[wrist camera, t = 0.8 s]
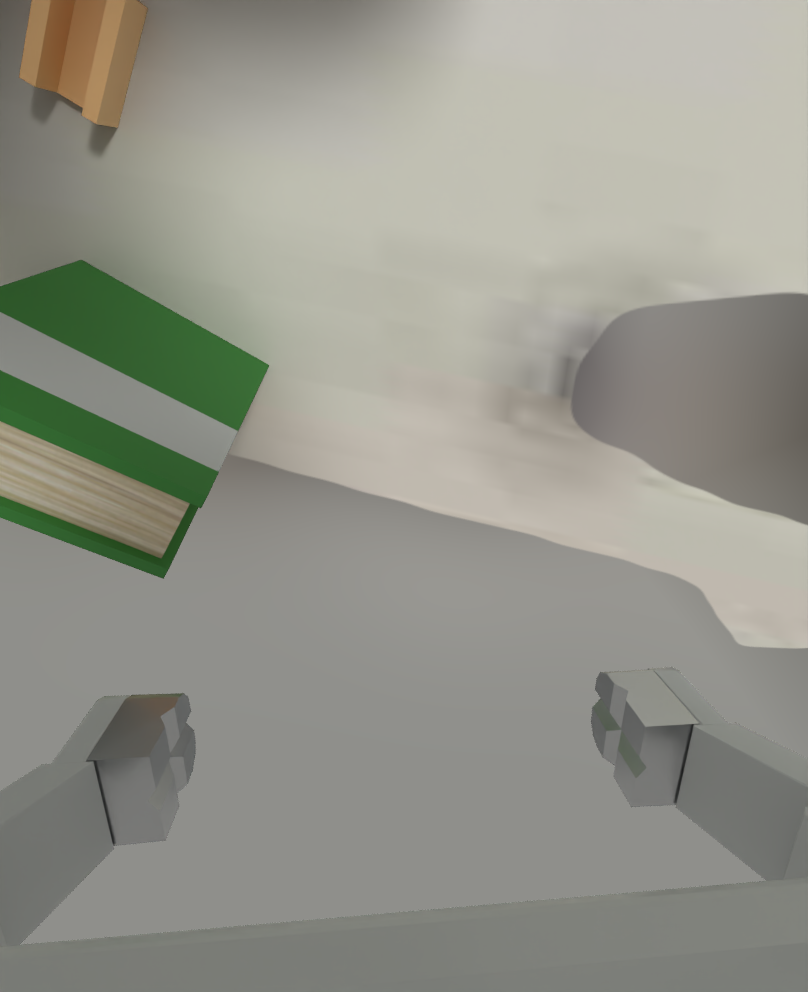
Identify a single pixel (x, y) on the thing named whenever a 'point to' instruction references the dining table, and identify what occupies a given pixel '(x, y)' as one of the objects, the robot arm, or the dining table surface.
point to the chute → (84, 52)
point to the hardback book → (112, 414)
